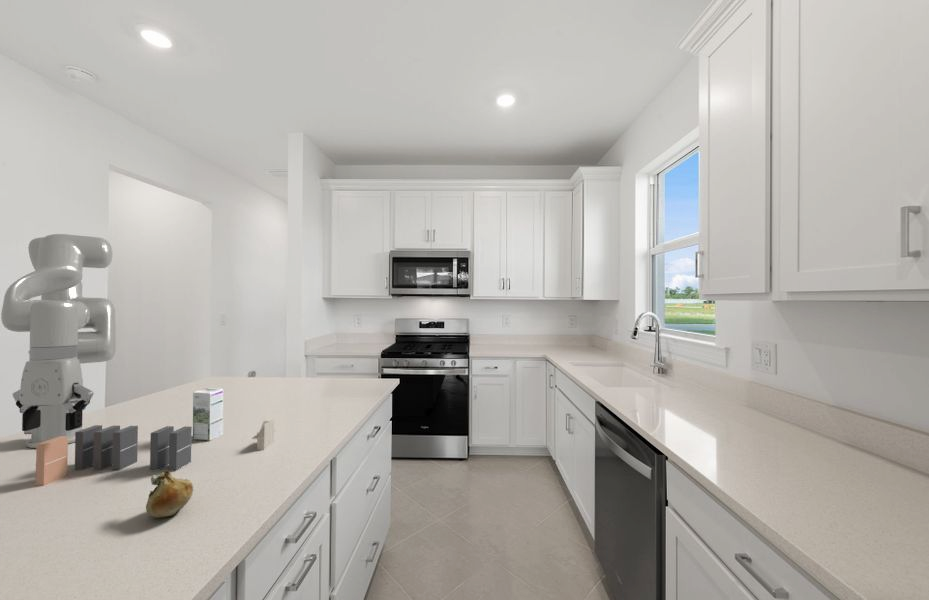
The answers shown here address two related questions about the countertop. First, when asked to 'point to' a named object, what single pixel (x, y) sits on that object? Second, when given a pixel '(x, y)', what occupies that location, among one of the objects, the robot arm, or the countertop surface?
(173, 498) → the onion
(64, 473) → the domino
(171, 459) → the domino
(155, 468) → the domino
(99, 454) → the domino
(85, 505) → the countertop surface
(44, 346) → the robot arm
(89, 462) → the domino
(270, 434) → the architectural model
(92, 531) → the countertop surface
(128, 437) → the domino
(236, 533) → the countertop surface
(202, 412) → the syrup box
